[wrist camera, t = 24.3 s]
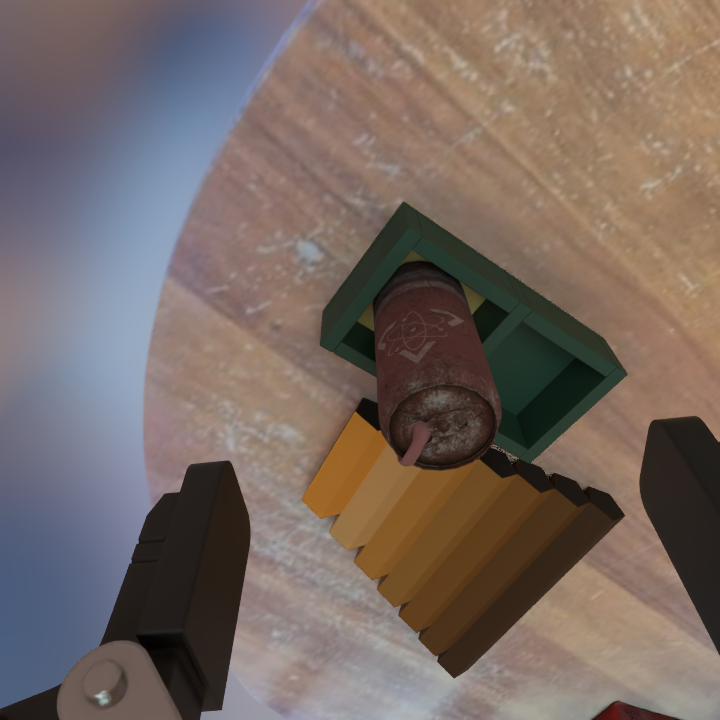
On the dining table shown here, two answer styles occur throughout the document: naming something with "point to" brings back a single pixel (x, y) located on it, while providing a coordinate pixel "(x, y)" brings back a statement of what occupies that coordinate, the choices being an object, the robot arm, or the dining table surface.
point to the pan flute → (455, 535)
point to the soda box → (629, 713)
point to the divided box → (484, 333)
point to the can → (432, 371)
